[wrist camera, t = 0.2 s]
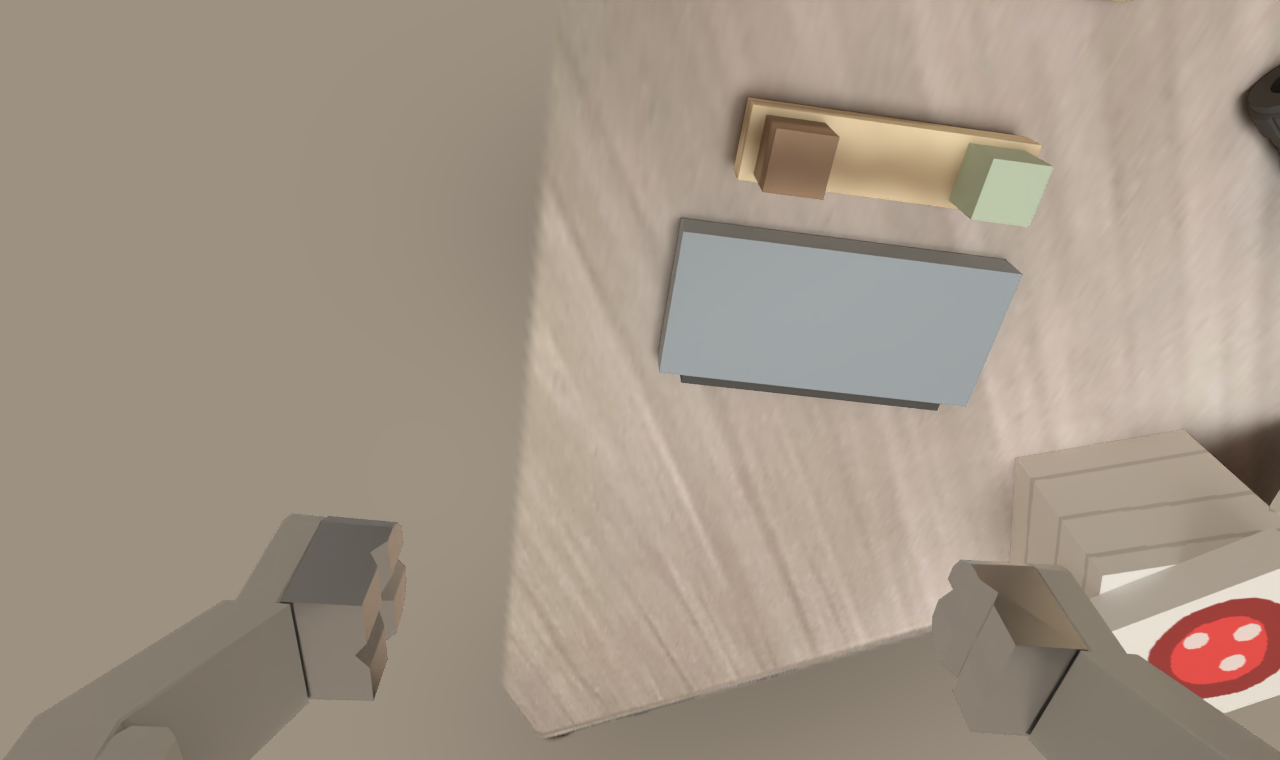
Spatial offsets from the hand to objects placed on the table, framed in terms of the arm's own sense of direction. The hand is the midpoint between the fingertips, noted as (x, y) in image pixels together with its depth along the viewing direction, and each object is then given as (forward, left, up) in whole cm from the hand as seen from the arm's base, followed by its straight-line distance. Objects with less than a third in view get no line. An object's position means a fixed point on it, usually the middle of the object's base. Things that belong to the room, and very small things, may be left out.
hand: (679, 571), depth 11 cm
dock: (+16, +18, -47) cm, 53 cm away
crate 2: (+3, +25, -43) cm, 50 cm away
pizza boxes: (+31, +54, -48) cm, 78 cm away
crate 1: (+3, +11, -43) cm, 45 cm away
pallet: (+3, +18, -47) cm, 51 cm away
